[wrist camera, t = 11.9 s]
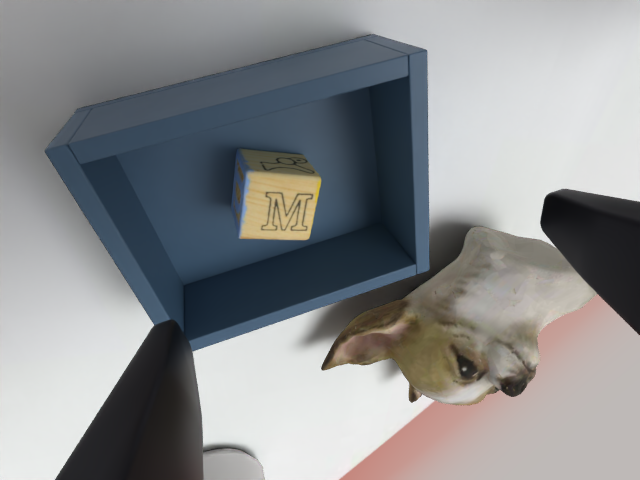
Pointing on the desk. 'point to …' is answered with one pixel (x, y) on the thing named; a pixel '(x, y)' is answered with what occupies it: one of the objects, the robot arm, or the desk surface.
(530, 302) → the ceramic sculpture
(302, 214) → the alphabet block
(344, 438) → the desk surface
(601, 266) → the robot arm
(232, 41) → the desk surface
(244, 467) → the can
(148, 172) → the blue open box
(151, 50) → the desk surface
